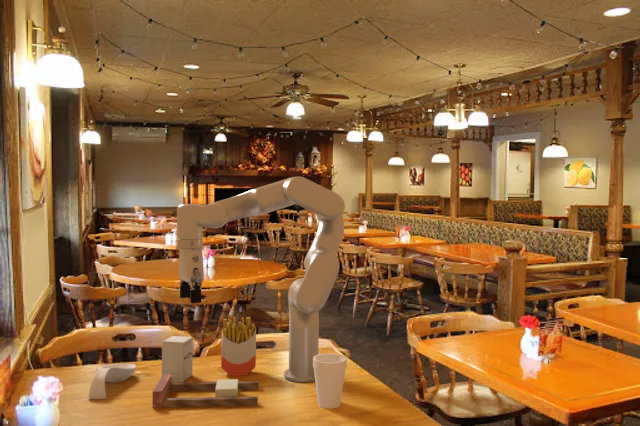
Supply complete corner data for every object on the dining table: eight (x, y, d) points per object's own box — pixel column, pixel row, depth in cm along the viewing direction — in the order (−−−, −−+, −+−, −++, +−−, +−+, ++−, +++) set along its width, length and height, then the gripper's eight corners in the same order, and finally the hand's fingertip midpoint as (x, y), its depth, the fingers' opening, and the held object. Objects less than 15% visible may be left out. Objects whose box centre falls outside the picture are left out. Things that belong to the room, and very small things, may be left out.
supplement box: (183, 383, 169) (183, 342, 169) (160, 381, 171) (161, 341, 171) (193, 375, 177) (193, 336, 176) (171, 373, 178) (172, 335, 178)
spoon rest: (103, 373, 178) (103, 351, 178) (140, 373, 179) (140, 351, 179) (76, 400, 155) (76, 375, 155) (119, 400, 156) (119, 375, 155)
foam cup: (334, 413, 147) (335, 365, 147) (306, 406, 152) (306, 359, 152) (352, 402, 155) (352, 356, 155) (324, 395, 160) (324, 351, 160)
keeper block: (238, 392, 163) (238, 379, 162) (236, 402, 155) (236, 388, 155) (217, 393, 162) (217, 379, 162) (215, 403, 154) (215, 389, 154)
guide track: (259, 387, 166) (259, 373, 166) (257, 405, 152) (257, 389, 152) (162, 389, 164) (162, 374, 164) (152, 407, 150) (152, 391, 150)
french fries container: (255, 375, 177) (255, 320, 177) (221, 375, 177) (221, 320, 176) (255, 370, 182) (256, 316, 181) (222, 371, 181) (222, 317, 181)
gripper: (212, 246, 162) (212, 303, 163) (192, 241, 177) (192, 294, 177) (187, 247, 158) (187, 306, 159) (169, 242, 173) (169, 297, 173)
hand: (190, 300), depth 168 cm, fingers open, 9 cm apart
